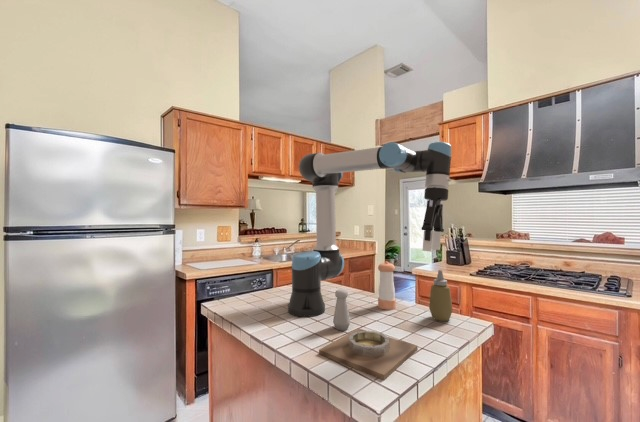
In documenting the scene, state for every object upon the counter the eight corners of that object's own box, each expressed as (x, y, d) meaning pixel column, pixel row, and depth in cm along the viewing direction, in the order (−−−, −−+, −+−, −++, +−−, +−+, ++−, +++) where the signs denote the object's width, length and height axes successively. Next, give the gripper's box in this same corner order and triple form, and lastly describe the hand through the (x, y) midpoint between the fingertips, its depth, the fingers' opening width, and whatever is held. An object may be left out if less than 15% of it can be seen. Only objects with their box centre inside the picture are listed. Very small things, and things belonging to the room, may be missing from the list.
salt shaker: (349, 332, 95) (349, 292, 95) (332, 331, 96) (331, 291, 97) (350, 325, 101) (350, 288, 101) (334, 324, 102) (334, 287, 102)
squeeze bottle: (442, 324, 102) (441, 273, 102) (424, 317, 109) (424, 269, 109) (457, 320, 106) (457, 271, 106) (439, 313, 113) (438, 267, 113)
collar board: (319, 354, 80) (318, 340, 80) (358, 331, 95) (358, 320, 96) (384, 380, 67) (384, 364, 67) (417, 349, 83) (417, 336, 83)
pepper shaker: (374, 306, 122) (374, 261, 122) (384, 303, 127) (384, 259, 127) (389, 311, 116) (388, 263, 117) (399, 307, 121) (398, 261, 122)
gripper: (441, 182, 86) (435, 253, 86) (454, 193, 107) (449, 250, 107) (416, 182, 90) (410, 250, 90) (432, 192, 111) (428, 247, 111)
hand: (431, 250), depth 98 cm, fingers open, 13 cm apart
